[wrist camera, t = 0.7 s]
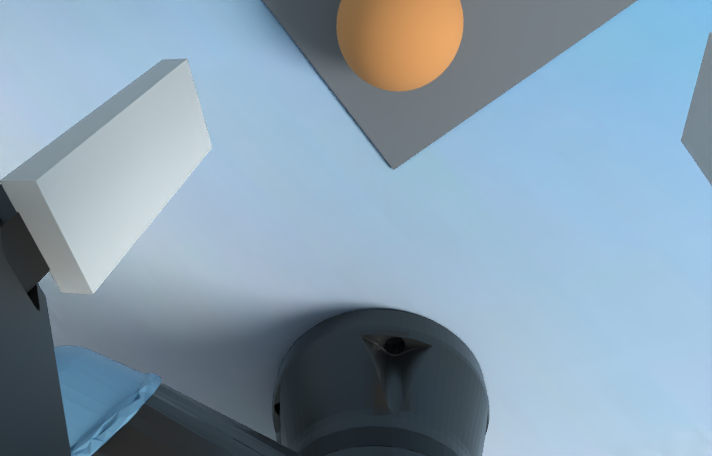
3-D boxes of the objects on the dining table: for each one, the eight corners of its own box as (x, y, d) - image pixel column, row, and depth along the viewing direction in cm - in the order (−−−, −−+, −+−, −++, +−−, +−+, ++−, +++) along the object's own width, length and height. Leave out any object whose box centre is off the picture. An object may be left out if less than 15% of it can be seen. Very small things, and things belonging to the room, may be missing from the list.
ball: (385, 100, 30) (385, 130, 25) (317, 9, 28) (302, 19, 23) (477, 32, 29) (499, 48, 23) (411, -71, 27) (418, -80, 21)
